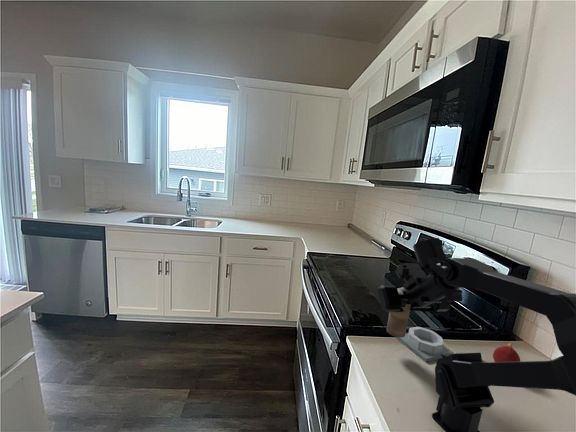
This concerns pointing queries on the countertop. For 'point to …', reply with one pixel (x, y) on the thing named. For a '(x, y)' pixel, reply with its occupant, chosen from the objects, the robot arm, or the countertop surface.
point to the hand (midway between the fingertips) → (397, 307)
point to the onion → (506, 354)
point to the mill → (398, 319)
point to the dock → (421, 354)
